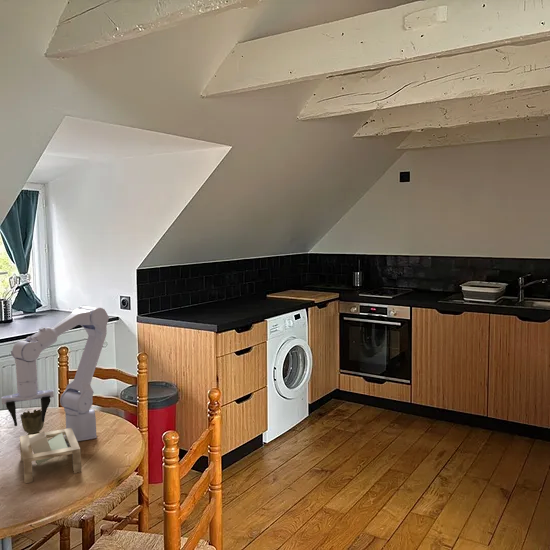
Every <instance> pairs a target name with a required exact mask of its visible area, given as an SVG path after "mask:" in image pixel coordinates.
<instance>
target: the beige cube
mask: <svg viewBox="0 0 550 550" xmlns="http://www.w3.org/2000/svg"><path fill="white" fill-rule="evenodd" d="M45 432H46V431H42V432H40V434H38V435H35V436H33V437H31V438H29V442H30V445H31V449H32V453H33V454H36V453H41V452H47V451H50V450H51V447H50V444H49V441H48V439H49V438H47V437H46V435H45Z"/></svg>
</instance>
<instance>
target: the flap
mask: <svg viewBox="0 0 550 550" xmlns="http://www.w3.org/2000/svg"><path fill="white" fill-rule="evenodd" d="M47 439H48V441H49V444H50V447H51V450H50V451H52V450H58V449H63V448H69V447H70V446H69V444H68V441H66V439H65V437H64V435H63V434H62V433H61V434H59V435H57V436H55V437H50V438H47ZM53 458H55V457H52V458H47V459H41V460H36V461H35V463H36V466H39V465H41V464H43V463H45V462H48V461H49V460H52V459H53Z"/></svg>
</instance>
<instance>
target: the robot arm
mask: <svg viewBox="0 0 550 550" xmlns="http://www.w3.org/2000/svg"><path fill="white" fill-rule="evenodd" d="M109 319H110V317H109V314H108V313H107V311H106V310H105V308H103V307H95V306H88V305H84V304H83V305H80V306H79V307H77V308H75V309H73V311H72V312H71V313H70V314H68V315H67V316H66V317H64V318H63V319H62V320H60V321H59V322H57V323H56V324H54V325H52V327H50V326H45V327H41V328H39V329H38V330H39V331H37V332H36V333H33V334H32V335H30V336H27V337H26V339H25V340H22V339H21V340H18V341H17V342H15V344H14V345H13V346H12V349H11V351H10V355H11V356H12V357H13V359H14V361H15V362H14V363H15V370H16V371H15V372H16V388H17V389H16V390H17V393H14V394H13V393H12V394H8V395H4V396H1V405H6V407H5V408H6V410H8V412H9V414H10V416H11V418H12V420H13V421H12V422H13V424H14V427H18V421H17V410H16V409H17V408H16V403H17V402H25V401H31V400H32V401H33V400H39V399H40V406H41V409H40V410H41V420H42V422H44V423H45V418H46V413H47V410H48V408H49V405H50V404H51V399H53V398H54V396H55V393H54V389H46V390H39V387H38V386H39V385H38V383H39V382H38V372H37V371H38V370H37V359H39V357H40V354H41V353H42V352H43V351H45V350H46V349H48V348H49V347H50V346H52V345H54V344H55V343H56V342H57V341H58V337H60V336H61V335H63V334H65V333H66V332H69V330H72V329H74V328H75V327H77V326H81V327H82V328H83V329H84V330H85V332H86V334H87V335H88V336H87V339H86V342H85V344H84V349H83V352H82V355H81V358H80V359H79V364H78V366H77V369H76V372H75V376H74V378H73V381H71V382H70V383H68V384H67V385H66V388H65V389H64V391H63V393H62V394H61V395H60V399H59V403H60V405H61V407H62V408H63V409H64V414H65V429H68V428H72V430H73V433H74V435H75V437H76V440H77V442H82V441H86V440H93V439H97V438H98V436H97V418H96V411H95V409H94V408H92V407H93V402H94V401H93V397H94V390H93V387H92V385H91V383H92V380H93V378H94V377H93V376H94V374H95V371H96V367H97V364H98V362H99V358H100V356H101V352H102V349H103V347H104V343H105V341H106V337H107V333H108V332H107V325H108V323H109ZM63 436H64V438H65V435H63Z"/></svg>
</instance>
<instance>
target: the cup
mask: <svg viewBox="0 0 550 550" xmlns="http://www.w3.org/2000/svg"><path fill="white" fill-rule="evenodd" d="M20 420H21V425H22V429H23V431H24V432H25V433H27V435H32V434H38V433H41V431H42V430H43V428H44V425H45V421H44V422H42V420H41V409H37V410H36V409H34V410H33V411H32V412H30V411H29V410H28V411H27V412H26V411H23V412H22V413H21V414H20Z"/></svg>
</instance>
